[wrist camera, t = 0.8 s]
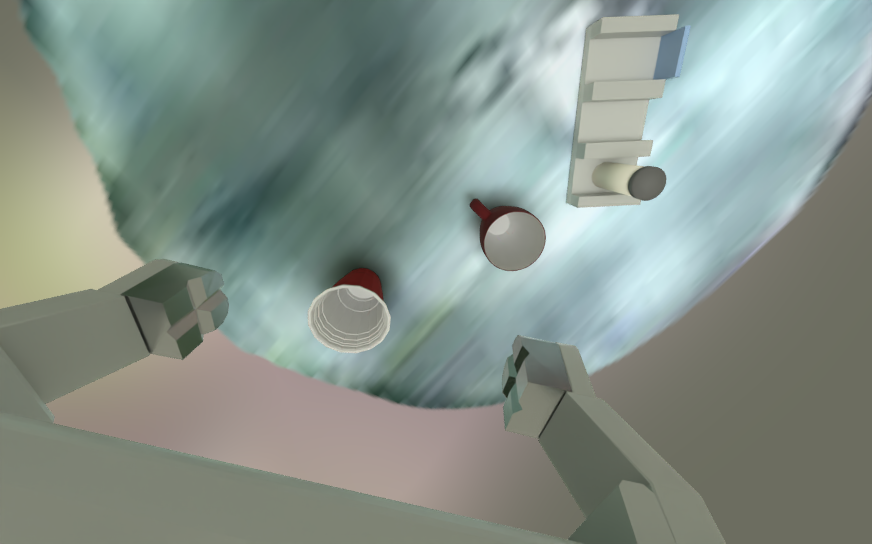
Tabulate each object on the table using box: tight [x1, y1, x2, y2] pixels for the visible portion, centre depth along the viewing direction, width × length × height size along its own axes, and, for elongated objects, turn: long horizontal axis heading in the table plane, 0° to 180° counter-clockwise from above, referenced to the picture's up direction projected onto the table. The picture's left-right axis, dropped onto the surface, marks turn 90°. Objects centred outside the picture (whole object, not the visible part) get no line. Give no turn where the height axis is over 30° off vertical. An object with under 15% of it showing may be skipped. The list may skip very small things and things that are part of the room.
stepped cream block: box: [566, 15, 691, 208], centre depth 42 cm, size 22×10×6 cm, turn 2°
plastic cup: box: [308, 268, 391, 353], centre depth 47 cm, size 11×11×12 cm
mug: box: [470, 199, 546, 271], centre depth 45 cm, size 10×8×10 cm
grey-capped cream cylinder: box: [592, 162, 666, 201], centre depth 42 cm, size 4×4×10 cm
